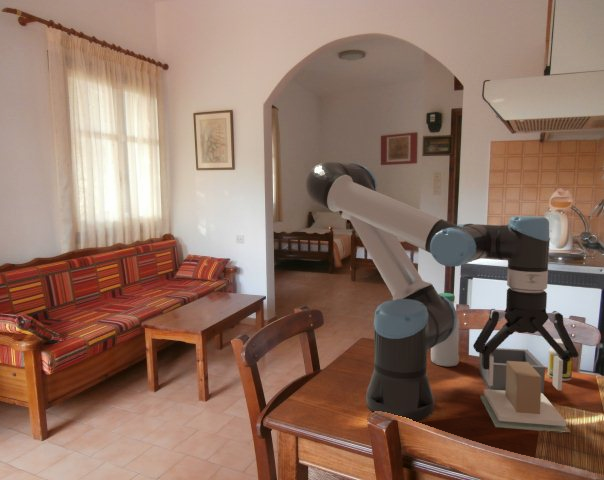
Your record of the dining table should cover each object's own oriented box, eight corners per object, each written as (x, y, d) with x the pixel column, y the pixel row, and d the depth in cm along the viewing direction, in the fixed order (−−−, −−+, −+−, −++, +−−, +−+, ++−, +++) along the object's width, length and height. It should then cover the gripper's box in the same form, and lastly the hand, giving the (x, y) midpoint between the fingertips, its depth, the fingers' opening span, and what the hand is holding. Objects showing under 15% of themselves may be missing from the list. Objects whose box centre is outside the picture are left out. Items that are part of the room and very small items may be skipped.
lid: (498, 424, 86) (500, 378, 85) (483, 396, 99) (485, 356, 98) (565, 429, 84) (568, 383, 83) (541, 400, 96) (543, 359, 95)
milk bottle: (457, 369, 116) (459, 298, 114) (428, 364, 119) (429, 295, 117) (460, 359, 123) (461, 292, 121) (432, 355, 126) (434, 290, 124)
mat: (495, 426, 86) (495, 424, 86) (480, 397, 99) (480, 395, 99) (569, 433, 84) (570, 430, 84) (544, 402, 96) (544, 400, 96)
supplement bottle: (575, 382, 107) (577, 345, 106) (551, 380, 108) (553, 343, 107) (566, 373, 112) (568, 338, 111) (544, 372, 113) (545, 337, 112)
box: (490, 392, 102) (491, 364, 101) (478, 372, 114) (479, 347, 113) (543, 395, 100) (545, 367, 99) (526, 375, 111) (527, 349, 111)
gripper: (468, 291, 87) (465, 388, 89) (601, 294, 83) (595, 397, 85) (461, 284, 95) (459, 374, 97) (583, 287, 90) (578, 381, 92)
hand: (522, 385), depth 91 cm, fingers open, 13 cm apart
